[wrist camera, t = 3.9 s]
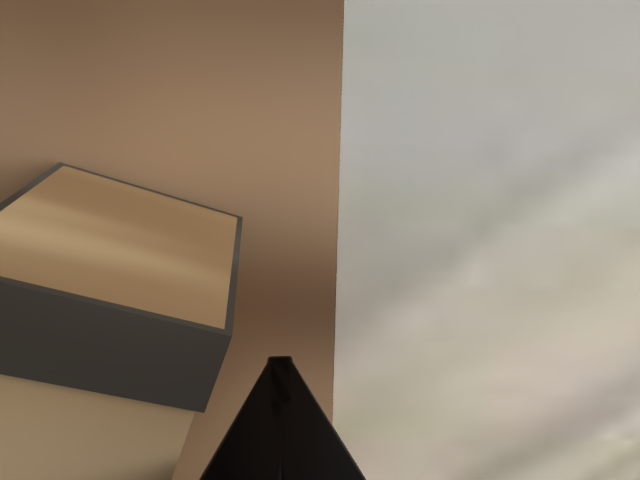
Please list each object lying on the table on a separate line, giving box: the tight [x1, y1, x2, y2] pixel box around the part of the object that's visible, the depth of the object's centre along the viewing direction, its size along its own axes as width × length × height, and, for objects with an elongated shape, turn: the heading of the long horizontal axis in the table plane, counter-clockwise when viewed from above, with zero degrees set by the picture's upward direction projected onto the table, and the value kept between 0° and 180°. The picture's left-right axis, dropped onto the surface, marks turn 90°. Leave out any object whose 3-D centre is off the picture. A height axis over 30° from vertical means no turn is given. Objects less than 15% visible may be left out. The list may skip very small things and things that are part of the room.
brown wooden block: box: [0, 0, 344, 480], centre depth 10 cm, size 18×11×5 cm, turn 179°
